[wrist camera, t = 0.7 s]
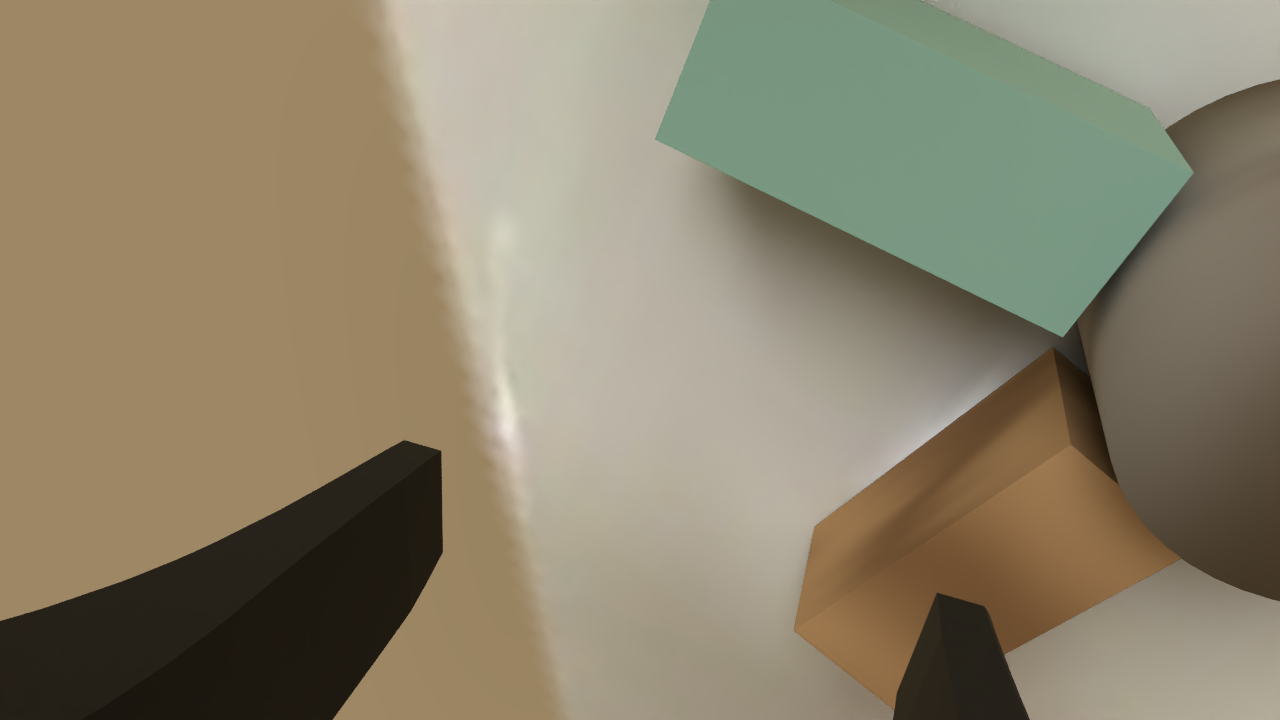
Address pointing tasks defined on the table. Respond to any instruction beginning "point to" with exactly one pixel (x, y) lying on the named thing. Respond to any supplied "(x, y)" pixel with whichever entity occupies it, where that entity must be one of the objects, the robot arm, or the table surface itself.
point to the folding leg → (929, 144)
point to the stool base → (1093, 438)
